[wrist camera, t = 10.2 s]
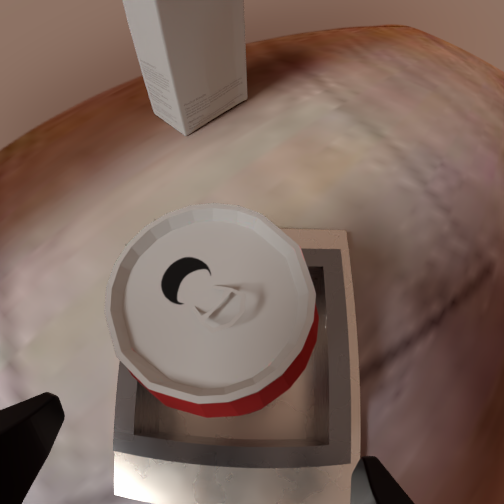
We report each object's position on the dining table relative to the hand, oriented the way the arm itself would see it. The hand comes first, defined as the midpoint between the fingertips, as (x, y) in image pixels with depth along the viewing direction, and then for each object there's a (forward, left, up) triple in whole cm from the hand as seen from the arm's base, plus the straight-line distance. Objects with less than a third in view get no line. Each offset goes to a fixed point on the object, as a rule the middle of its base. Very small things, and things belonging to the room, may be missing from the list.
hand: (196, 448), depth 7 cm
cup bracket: (+4, 0, -10) cm, 11 cm away
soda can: (+4, 0, -9) cm, 10 cm away
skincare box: (+28, +5, -11) cm, 30 cm away
